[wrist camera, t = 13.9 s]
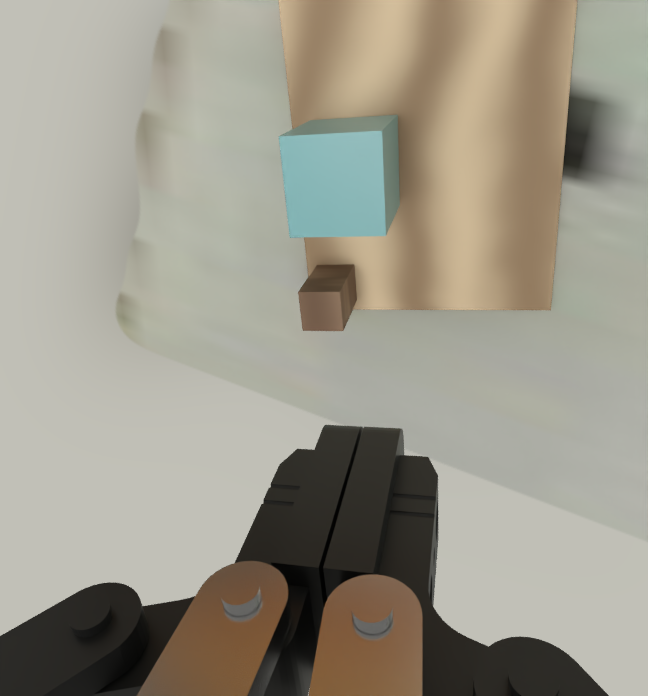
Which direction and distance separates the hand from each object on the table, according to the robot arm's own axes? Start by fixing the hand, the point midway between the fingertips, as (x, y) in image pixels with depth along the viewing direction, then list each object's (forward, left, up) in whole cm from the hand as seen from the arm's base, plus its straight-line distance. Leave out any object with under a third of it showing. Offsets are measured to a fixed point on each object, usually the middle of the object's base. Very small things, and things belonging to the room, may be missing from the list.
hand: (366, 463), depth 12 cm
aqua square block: (+5, -1, -27) cm, 28 cm away
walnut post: (+7, +7, -29) cm, 31 cm away
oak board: (+1, -4, -29) cm, 29 cm away
